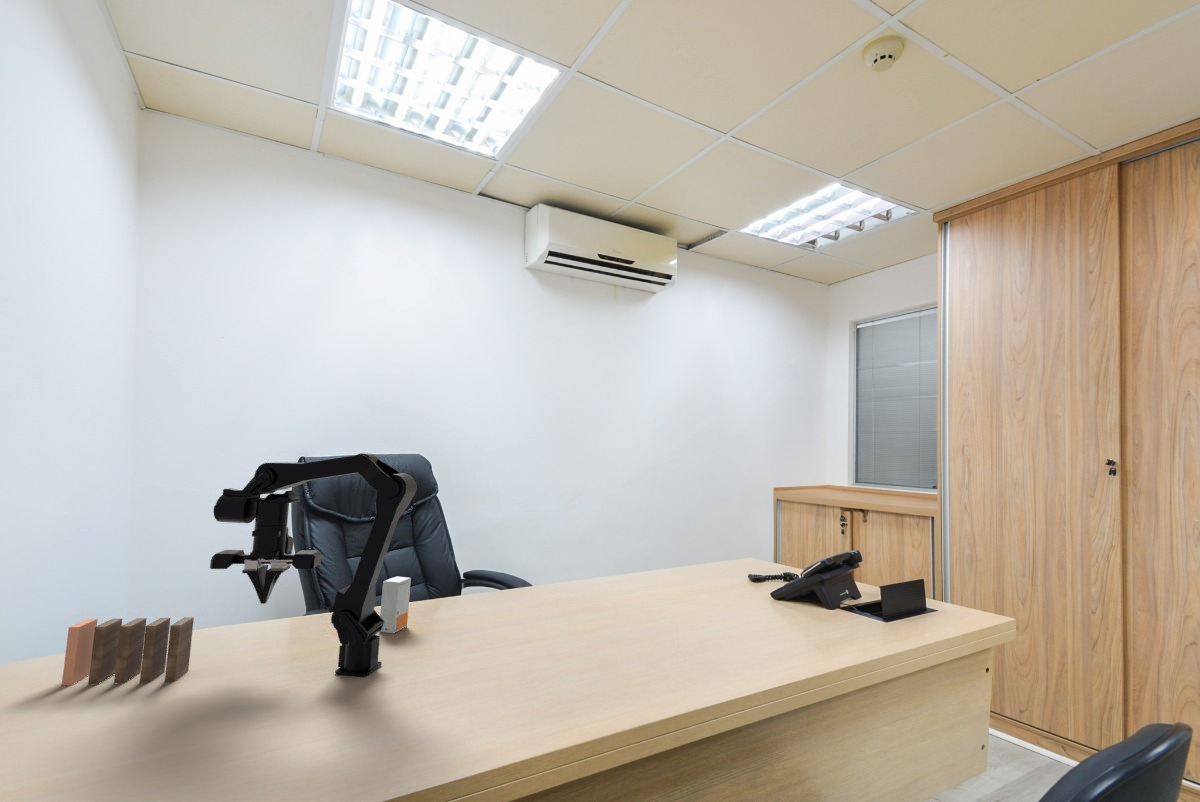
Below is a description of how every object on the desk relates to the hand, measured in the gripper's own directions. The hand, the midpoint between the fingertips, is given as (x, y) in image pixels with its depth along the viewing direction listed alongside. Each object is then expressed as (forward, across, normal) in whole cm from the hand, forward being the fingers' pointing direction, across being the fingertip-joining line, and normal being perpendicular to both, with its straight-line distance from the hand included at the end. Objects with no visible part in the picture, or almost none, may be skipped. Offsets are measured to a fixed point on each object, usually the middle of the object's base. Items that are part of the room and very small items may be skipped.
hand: (263, 603), depth 113 cm
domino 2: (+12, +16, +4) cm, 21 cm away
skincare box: (+12, -23, -21) cm, 33 cm away
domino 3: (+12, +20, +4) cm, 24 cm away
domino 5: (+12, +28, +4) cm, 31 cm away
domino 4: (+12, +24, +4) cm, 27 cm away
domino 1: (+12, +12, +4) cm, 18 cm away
